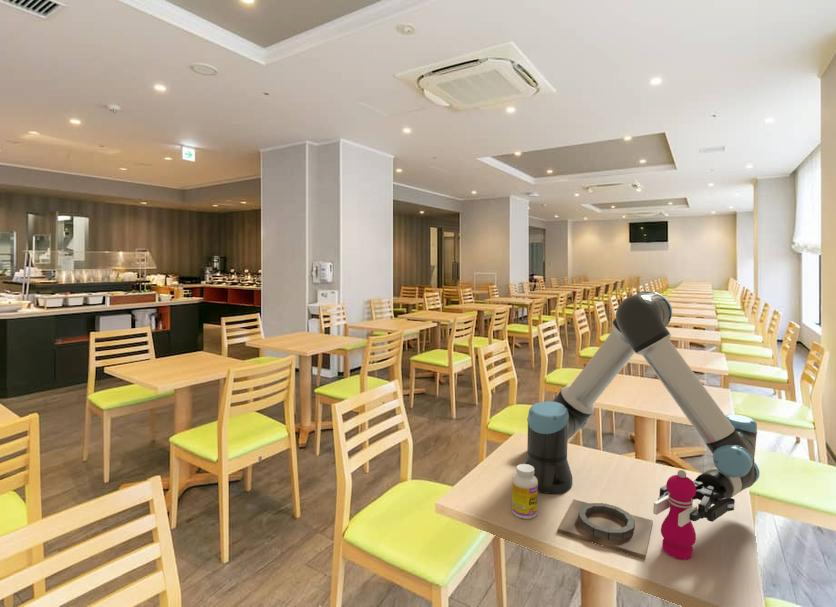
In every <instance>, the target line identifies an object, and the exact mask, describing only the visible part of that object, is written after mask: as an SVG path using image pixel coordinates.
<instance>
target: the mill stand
mask: <svg viewBox="0 0 836 607" xmlns="http://www.w3.org/2000/svg"><path fill="white" fill-rule="evenodd" d="M653 523H654V520H652V519H649V518H645V517H641V516H638V515H633V514H631V513H629V512H628V511H626V510H624V509H622V508H621V507H619V506H617V505H613V504H608V503H606V502H605V503H604V502H590V503H589V502H586V501H583V500H577V499H575V498H574V499H572V500H571V503H570V505H569V507H568V509H567V510H566V512H565V514H564V516H563V518H562V520H561V522H560V524H559V525H558V527H557V533H559V534H561V535H562V534H563V535H565V536H568V535H569V536H570V537H571V538H576V539H578V540H582V541H585V542H589V543H591V542H593V543H592V544H594V543H596V544H595V545H597V544H599V545H598V546H601V545H603V546H602V547H604V546H605V548H607V547H608V549H610V548H611V550H614V549H615V550H614V551H617V550H618V551H617V552H620V551H622V552H621V553H623V552H624V554H627V553H628V554H627V555H629V556H630V555H631V556H633V555H634V557H637V558H640V559H644V560H646V557H647V553H648V548H649V544H650V538H651V534H652V531H653V530H652V529H653V526H654V525H653ZM569 536H568V537H569Z"/></svg>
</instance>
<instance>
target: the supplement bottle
mask: <svg viewBox="0 0 836 607" xmlns="http://www.w3.org/2000/svg"><path fill="white" fill-rule="evenodd" d="M515 472H516V474H514V475H513V477H512V484H511V485H512V487H511V491H512V492H511V512H512V513H513V515H514V516H516V517H517V518H519V519H522V518H523V520H531V519H534V518H536V516H537V514H538V480H537V478H536V477H535V476H534V467H533V466H531V465H528V464H524V463H520V464H518V465H517V466H516V471H515Z"/></svg>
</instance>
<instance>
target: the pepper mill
mask: <svg viewBox="0 0 836 607" xmlns="http://www.w3.org/2000/svg"><path fill="white" fill-rule="evenodd" d="M693 481H694V480H692V479H691V478H690V477H687V472H686V471H685V470H684V469H683V470H682V469H680V470H678V471H677V474H675V475H671V476H669V478H667V481H666V484H665V485H666V488H667V490H668V492H669V494H668V501H669V502H670V507H669V511H668V514H667V515H666V516H665V518H664V520H663V522H662V524H661V527H660V533H661V536H662V541H661V542H662V545H661V548H662V550H663V551H664V552H665V553H666V554H667V555H669V557H672V558H673V559H677V560H691V558H692V557H693V553H694V547H693V546H694V545H695V544H696V542H697V534H696V530H695V527H694V525H693V521H690V522H689V523H687V524H685V525H684V526H682V527H680V526H678V516H679V513H681V512H683V511H684V510H686V509H688V508H689V507H692V506H693V505H694V504H693V503H694V500H693V499H692V498H693V497H694V496H695V494H696V486H695V484H694V482H693Z"/></svg>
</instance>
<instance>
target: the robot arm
mask: <svg viewBox="0 0 836 607" xmlns="http://www.w3.org/2000/svg"><path fill="white" fill-rule="evenodd" d="M672 315H673V309H672V305H671V303H670V301H669V300H668V299H667V297H665V295H663V294H661V293H658V292H655V291H650V290H647V291H641V292H638V293H636V294H633V295H631V296H630V295H629V296H628V297H627V298H624V299H623V300H622V301H621V302H620V303H619V304H618V306H617V309H616V312H615V318H614V319H613V321H612V323H611V324H612V328H613V329H612V331H611V332H610V333H609V335H608V336H607V338H606V339H605V340H604V341H603V343H601V345H600V347H599V348H598V349H597V351H596V352H595V353H594V354H593V356H592V357H591V358H590V360H589V361H588V362H587V363H586V365H585V366H584V367H583V369H582V370H581V372H580V373H579V374H578V375H577V377H576V378H575V379H574V380H573V381H572V383H571V384H570V386H563V387H562V388H561V389H560V390H559V392H558V393H557V394H556V396H555V397H554V398H553V400H552V401H550V400H546V401H542V402H540V401H539V402H536V403H534V404H532V405H531V406H530V408H529V409H528V412H527V413H528V414H527V415H528V416H527V418H526V419H527V449H526V450H527V451H526V452H527V455H526V457H525V460H524V463H523V464H528V465H531V466H533V467H534V476H535V477H536V478H537V480H538V492H539V493H543V494H562V493H566V492H568V491H569V490H571V489H572V487H573V475H572V474H573V473H572V471H571V467H570V464H569V462H568V441H569V440H570V438H572V437H573V436H574V435H575V434H576V433H577V432H578V431H580V430H581V429H582V428H584V427H585V425H586V424H587V421H588V420H589V418H590V417H591V416H592V414H594V412H595V407H594V404H595V402H596V401H597V400H598V399H599V397H600V396H601V395H602V394H603V393H604V391H606V388H608V386H609V385H610V384H611V383H612V382H613V380H615V378H616V376H618V374H619V373H620V372H621V371H622V369H623V368H624V367H625V365H626V364H627V363H628V362H629V361H630V360H631V358H632V357H633V356H634V355H635V354H636V355H640V356H642V357H643V358H644V359H645V361H646V362H647V364H648V365H649V367H650V368H651V369H652V371H653V373H655V375H656V377H657V378H658V380H660V382H661V383H662V385H663V387H664V388H665V389H666V390H667V392H668V393H669V395H670V397H672V399H673V400H674V401H675V403H676V405H677V406H678V407H679V409H680V410H681V411H682V413H683V414H684V416H685V417H686V418H687V420H688V422H690V424H691V425H692V427H693V428H694V430H695V431H696V432H697V434H698V435H699V437H700V438H701V440H702V441H703V442H704V444H705V445H706V447H707V448H708V450H709V451H710V452H711V454H712V460H713V464H714V467H712V468H710V469H708V470H706V471H705V472H703V473H701V474H699V475H698V476H697V477H696V478H695V479H694V480H692V481H693V482H694V484H695V486H696V494H695V496H694V497H693V498H692V499H693V501H694V500H699V501H700V502H698V506H697V505H695V504H693V506H692V507H689V508H688V509H686V510H684V511H683V512H681V513H679V516H678V526H680V527H682V526H684V525H685V524H687V523H689V522H690V521H691V522H697V521H698V520H700V519H702V520H703V519H704V518H705V519H707V521H709V522H711V523H712V522H714V521H716V520H717V519H719V518H720V517H721V516H723V515H724V514H726V513H727V512H732V511H734V510H735V503H736V502H735V501H736V500H735V498H733V497H735V496H736V495H738V494H739V493H741V492H742V491H743V490H746V489H748V488H751V487H752V486H753V485H754V484H755V483H756V482H757V481H758V480H759V478H760V474H761V473H760V469H759V467H758V464H757V463H756V461H755V455H756V445H757V436H758V435H757V434H758V423H757V422H756V420H755V419H754V418H751V417H749V416H745V415H741V414H729V413H728V414H726V415H725V413H724V412H723V410H721V408H720V407H719V405H718V404H717V402H716V401H715V400H714V398H713V397H712V396H711V394H710V393H709V392H708V390H707V389H706V387H705V386H704V385H703V383H702V382H701V380H700V379H699V378H698V376H697V375H696V374H695V372H694V371H693V370H692V368H691V367H690V365H689V364H688V363H687V361H686V360H685V358H683V356H682V355H681V353H680V352H679V350H678V349H677V348H676V347H675V345H674V344H673V343H672V341H671V336H672V334H671V333H670V331H669V330H668V328H667V326H668V325H669V323H670V322H671V319H672ZM668 494H669V492H668V490H667V488H666V484H665V485H662V486H661V487H659V494H658V495H659V496H658V498H657V500H655V501H654V502H653V509H652V510H653V511H652V512H653V514H654V515H657V516H658V515H659V514H660V513H662V512H665V511H666V510H668V509H670V502H669V501H668Z"/></svg>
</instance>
